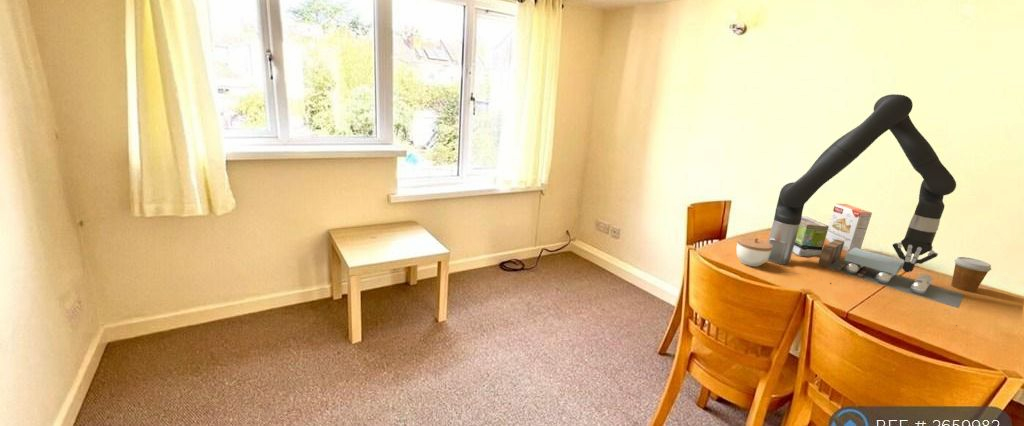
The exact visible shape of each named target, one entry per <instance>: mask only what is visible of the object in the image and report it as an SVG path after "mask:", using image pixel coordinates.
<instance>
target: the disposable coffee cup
mask: <svg viewBox="0 0 1024 426" xmlns="http://www.w3.org/2000/svg"><path fill="white" fill-rule="evenodd" d="M954 262H955V263H954V264H955V265H954V269H953V274H952V279H951V285H950V286H951V287H953V288H954V289H957V290H960V291H963V292H967V293H968V292H969V293H975V292H976V291H977V290H978V288H979V286H980V285H981V284H982V282H983V280H984V279H985V277H986V276H987V274H988V273H989V272H990V271H991V270H992V265H991V263H989V262H986V261H984V260H980V259H976V258H972V257H965V256H958V257H957V258H956V259H954Z"/></svg>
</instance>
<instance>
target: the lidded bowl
mask: <svg viewBox="0 0 1024 426" xmlns="http://www.w3.org/2000/svg"><path fill="white" fill-rule="evenodd" d="M736 242H737V243H736V249H735V250H736V251H735V253H736V255H737V258H738V259H739V261H740V262H741V263H742V265H745V266H749V267H754V268H756V267H760V266H761V265H764V264H765V263H766V262H767V261H768V258H769V256H770V254H771V251H772V248H773V246H772V244H770V243H768V241H767V240H763V239H759V238H758V237H750V236H749V237H748V236H745V237H744V236H743V237H742V236H741V237H738V238H737V241H736Z"/></svg>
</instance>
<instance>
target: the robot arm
mask: <svg viewBox="0 0 1024 426" xmlns="http://www.w3.org/2000/svg"><path fill="white" fill-rule="evenodd" d="M912 110H913V100H912V99H911V98H910V97H908V96H907V95H904V94H887V95H884V96H882V97H880V98H879V99H877V101H876V102H875V103H874V105H873V111H872V113H871V114H870V115H869V116H868V117H867V118H866V119H865V120H864V121H863V122H862V123H860V124H859V125H858V126H856V127H855V128H853V129H851V130H850V131H848V132H846V133H845V134H844V135H842V136H841V137H839V138H838V139H836V140H835V141H834V142H833V143H832V144H831V145H829V147H827V148H826V149H825V150H824V151H823V152H822V153H821V154H820V155H819V157H818V158H817V159H816V160H815V162H814V163H813V164H812V166H811V167H810V168H809V169H808V170H807V171H806V172H805V174H803V175H802V176H801V177H799V178H798V179H797V180H796V181H793V182H789V183H786V184H785V185H783V187H781V190H780V192H779V195H778V200H777V203H776V206H775V210H774V211H775V212H774V216H773V221H772V226H771V230H770V233H769V237H768V240H767V242H768V243H770V244H772V246H773V248H772V251H771V254H770V256H769V258H768V260H767V261H768V262H772V263H773V264H774V263H775V264H778V265H789V264H790V262H791V258H792V254H793V252H792V251H793V248H794V244H795V240H796V237H797V233H798V229H799V226H800V222H801V218H802V215H803V210H804V207H805V204H806V203H807V202H808V201H809V200H810V199H811V198H812V196H814V195H815V194H816V193H817V191H819V189H821V187H823V186H824V185H825V184H826V183H827V182H829V181H830V180H831V179H833V178H834V177H835V176H836V175H838V174H839V173H841V172H842V171H843V170H844V169H845V168H846V167H848V166H849V165H850V164H851V163H852V162H853V161H855V160H856V159H857V158H858V157H859V156H860V155H862V153H864V152H865V151H866V150H867V149H868V148H869V147H871V145H872V144H873V143H874V142H875V141H876V140H877V139H878V138H879V137H881V136H882V135H883V134H884V133H886V132H887V131H890V132H891V133H892V135H893V136H894V138H895V139H896V141H897V143H898V144H899V147H900V148H901V149H902V151H903V153H904V154H905V157H906V158H907V159H908V161H909V163H910V165H911V166H912V168H913V169H914V171H916V172H917V173H918V174H919V175H920V176H921V178H922V179H923V180H922V181H921V184H920V187H919V196H918V203H917V204H916V207H915V210H914V213H913V215H912V217H911V218H910V221H909V225H908V227H907V230H906V232H905V236H904V238H903V239H902V240H901V241H900V242H894V243H893V244H892V248H893V249H894V251H895V253H896V254H897V256H898V259H900V260H904V261H905V262H904V265H903V268H902V270H903V272H907V273H910V272H912V271H913V270H914V268H915V266H916V264H919V265H922V264H924V263H926V262H928V261H930V260H932V259H935V258H937V257H938V255H939V254H938V252H936V251H934V250H933V242H934V240H935V237H936V234H937V231H938V230H939V226H940V221H941V218H942V216H943V213H944V209H945V203H944V202H943V201H944V197H945V196H947V195H950V194H952V193H954V191H955V190H956V189H957V181H956V180H955V178H954V176H953V175H952V173H950V171H949V170H948V169H947V168H946V167H945V166H944V164H943V163H942V162H941V160H940V159H939V157H938V154H937V152H936V151H935V150H934V148H933V147H932V145H931V144H930V142H929V141H928V140H927V139H926V138H925V137H924V136H923V134H922V133H921V132H920V131H919V130H918V128H917V127H916V126H915V125H914V123H913V121H912V119H911V118H910V113H911V112H912ZM902 248H903V250H904V251H905V252H906V254H905V253H904V252H903V250H902ZM926 253H927V256H924V257H922V258H920V256H922V255H924V254H926ZM912 256H913V257H912ZM919 258H920V259H919Z"/></svg>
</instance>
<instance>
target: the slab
mask: <svg viewBox="0 0 1024 426" xmlns="http://www.w3.org/2000/svg"><path fill="white" fill-rule="evenodd" d="M843 260H845V261H849V262H852V263H856V264H859V265H863V266H866V267H870V268H873V269H877V270H880V271H884V272H887V273H891V274H894V275H898V274H899V272H901V270H903V265H904V262H905V261H904V260H903V259H900V258H895V257H892V256H889V255H884V254H881V253H876V252H873V251H869V250H866V249H858V248H853V249H852V250H850V251H849V252H847V253H845V257H844V259H843Z"/></svg>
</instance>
